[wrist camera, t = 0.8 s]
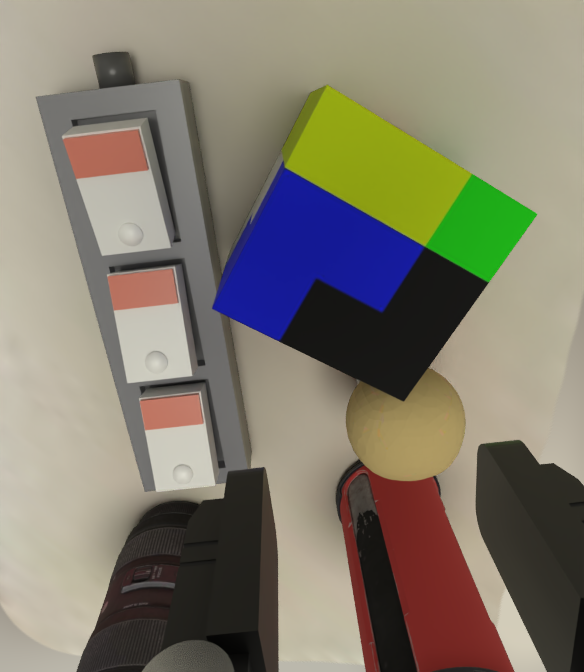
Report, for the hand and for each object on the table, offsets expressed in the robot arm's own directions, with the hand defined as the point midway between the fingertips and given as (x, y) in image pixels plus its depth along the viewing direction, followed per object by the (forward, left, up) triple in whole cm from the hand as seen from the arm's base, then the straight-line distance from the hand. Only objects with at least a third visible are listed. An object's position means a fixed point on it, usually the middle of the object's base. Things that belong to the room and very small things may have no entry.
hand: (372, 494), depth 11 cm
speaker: (+20, +4, -23) cm, 31 cm away
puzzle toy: (-1, +2, -23) cm, 24 cm away
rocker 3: (+11, -9, -20) cm, 24 cm away
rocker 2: (+3, -9, -20) cm, 22 cm away
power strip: (+3, -9, -23) cm, 25 cm away
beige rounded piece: (+9, +4, -23) cm, 25 cm away
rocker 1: (-4, -9, -20) cm, 22 cm away
